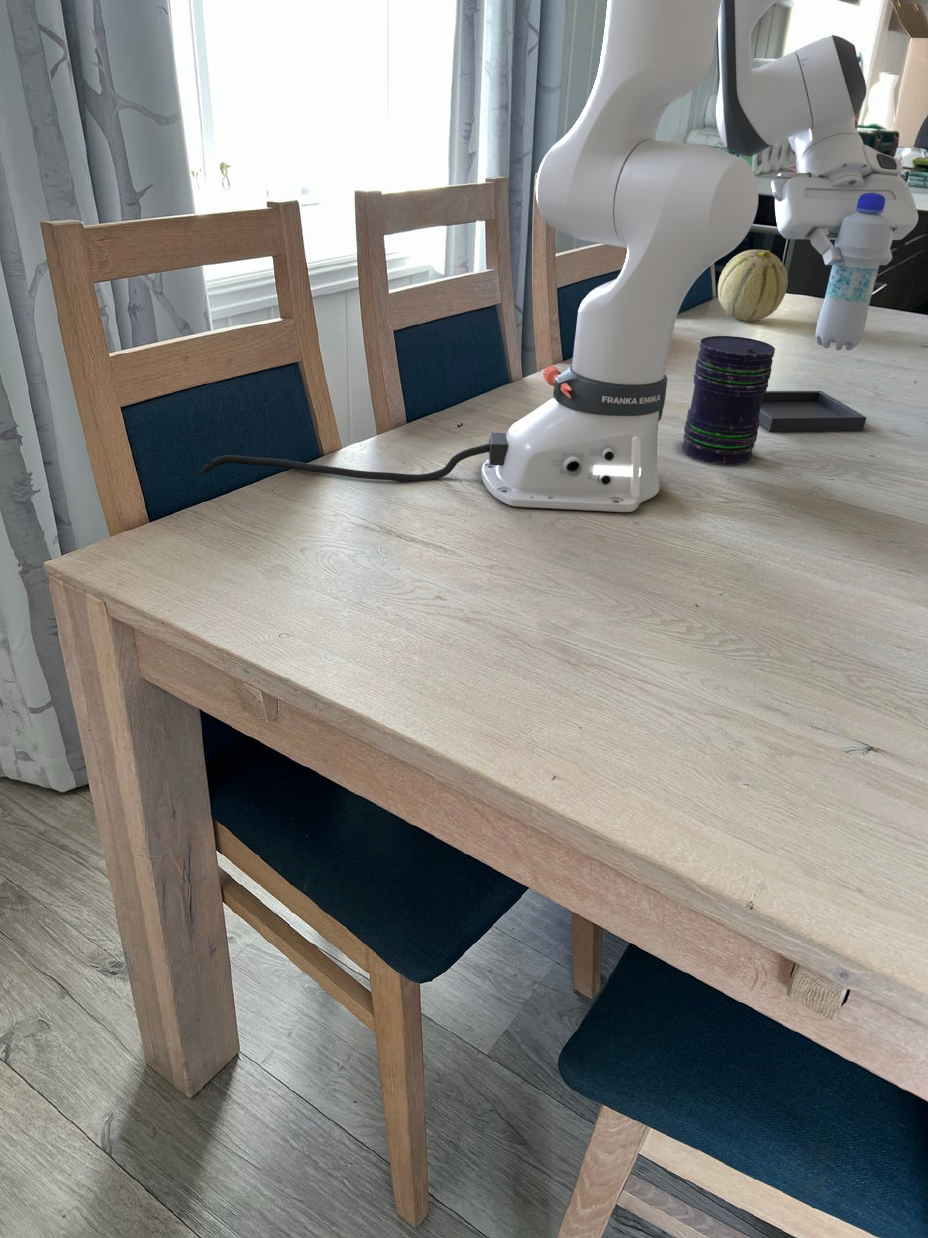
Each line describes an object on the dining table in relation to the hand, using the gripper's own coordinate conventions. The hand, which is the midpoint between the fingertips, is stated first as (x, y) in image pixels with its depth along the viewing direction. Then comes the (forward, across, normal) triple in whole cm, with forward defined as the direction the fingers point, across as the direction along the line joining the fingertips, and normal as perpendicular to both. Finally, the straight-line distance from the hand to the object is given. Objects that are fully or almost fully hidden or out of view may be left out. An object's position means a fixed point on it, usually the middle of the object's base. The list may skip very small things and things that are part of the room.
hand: (859, 262), depth 127 cm
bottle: (+8, 0, +9) cm, 12 cm away
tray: (+11, +3, +24) cm, 27 cm away
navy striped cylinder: (+20, -18, +15) cm, 31 cm away
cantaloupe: (-34, +31, +70) cm, 84 cm away
